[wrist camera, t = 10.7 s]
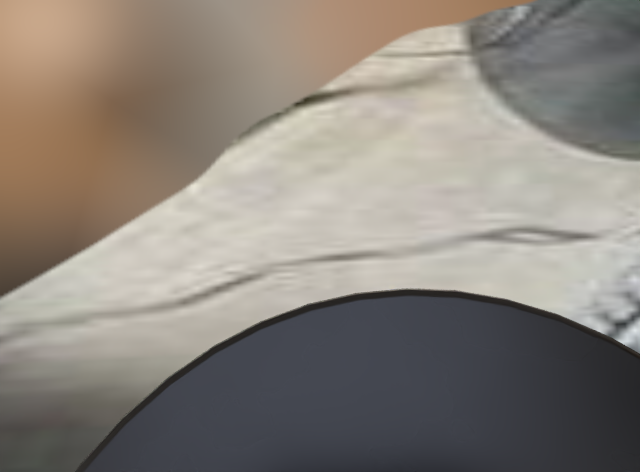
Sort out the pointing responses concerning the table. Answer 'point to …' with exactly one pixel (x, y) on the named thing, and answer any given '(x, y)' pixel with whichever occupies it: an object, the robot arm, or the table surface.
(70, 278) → the table surface
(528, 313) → the flask
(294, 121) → the table surface
